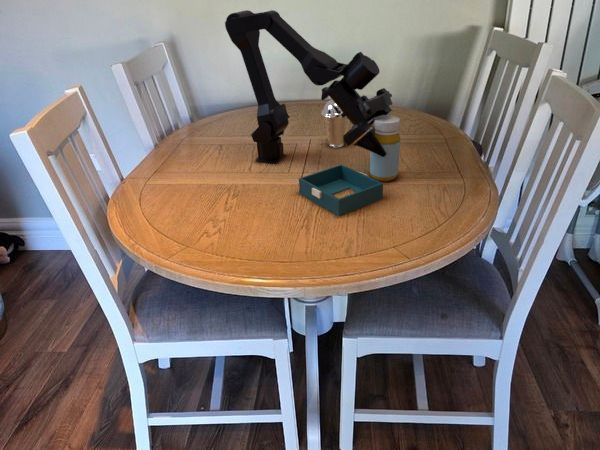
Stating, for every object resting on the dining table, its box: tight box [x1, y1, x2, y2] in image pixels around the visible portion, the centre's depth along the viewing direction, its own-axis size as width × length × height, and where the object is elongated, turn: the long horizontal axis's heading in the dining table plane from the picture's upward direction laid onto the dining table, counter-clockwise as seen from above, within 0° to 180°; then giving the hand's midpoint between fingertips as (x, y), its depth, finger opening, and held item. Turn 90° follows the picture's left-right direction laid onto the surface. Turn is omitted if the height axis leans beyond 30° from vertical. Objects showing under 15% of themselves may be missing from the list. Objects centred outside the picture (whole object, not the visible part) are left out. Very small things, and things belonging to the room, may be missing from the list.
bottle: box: [369, 114, 401, 182], centre depth 119 cm, size 7×7×15 cm
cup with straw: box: [321, 79, 349, 149], centre depth 140 cm, size 8×9×20 cm
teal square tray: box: [298, 163, 384, 217], centre depth 115 cm, size 15×14×4 cm
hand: (390, 150), depth 119 cm, fingers closed on bottle, 7 cm apart
